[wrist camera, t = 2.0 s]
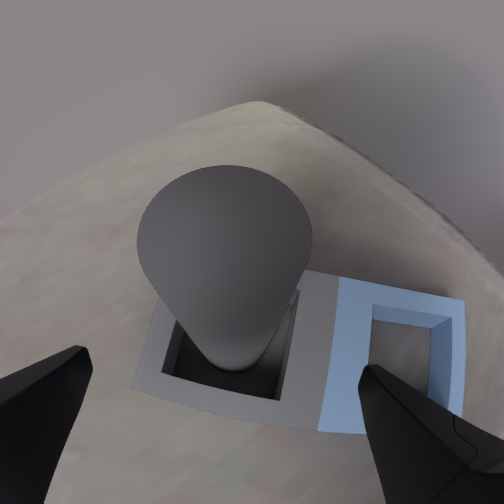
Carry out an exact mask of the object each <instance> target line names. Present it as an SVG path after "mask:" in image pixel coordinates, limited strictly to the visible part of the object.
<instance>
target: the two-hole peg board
mask: <svg viewBox="0 0 504 504" xmlns="http://www.w3.org/2000/svg"><path fill="white" fill-rule="evenodd" d="M289 305H292V310H291V316H290V322H289V327H288V333H287V338H286V344H285V349H284V354H283V359H282V364H281V369H280V374H279V379H278V384H277V389H276V394H275V399H274V400H271V399H265V398H260V397H255V396H250V395H245V394H240V393H236V392H231V391H227V390H223V389H218V388H214V387H210V386H206V385H202V384H199V383H195V382H191V381H188V380H184V379H181V378H177V377H174V376H172V375H173V371H174V368H175V364H176V360H177V357H178V353H179V349H180V346H181V342H182V339H183V335H184V332H185V330H184V329H183V327H182V326H181V325H180V323H179V322H178V321H177V319H176V318H175V317H174V315H173V314H172V313H171V311H170V310H169V308H168V307H167V306H166V304H165V303H164V301H163V300H162V299H161V297H160V296H159V299H158V302H157V305H156V308H155V311H154V314H153V317H152V320H151V323H150V326H149V330H148V333H147V336H146V339H145V343H144V346H143V349H142V353H141V356H140V359H139V363H138V366H137V370H136V374H135V377H134V381H133V384H132V388H134V389H136V390H139V391H142V392H145V393H148V394H150V395H153V396H156V397H159V398H162V399H165V400H169V401H172V402H175V403H178V404H182V405H185V406H189V407H192V408H196V409H200V410H203V411H207V412H211V413H215V414H219V415H224V416H228V417H232V418H237V419H242V420H247V421H252V422H257V423H263V424H269V425H275V426H281V427H288V428H295V429H304V430H312V431H323V432H335V433H352V434H367V433H366V430H365V425H364V420H363V415H362V410H361V404H360V399H359V393H358V383H359V380H360V377H361V374H362V371H363V368H364V367H365V366H366V365H368V357H369V347H370V336H371V323H372V319H373V320H379V321H386V322H392V323H399V324H405V325H412V326H419V327H426V328H431V348H430V368H429V381H428V392H427V397H429V398H430V399H432V400H433V401H435V402H436V403H438V404H440V405H441V406H443V407H444V408H446V409H447V410H449V411H451V412H452V413H453V414H456V415H457V416H459V417H460V418H461V417H462V408H463V398H464V386H465V368H466V324H465V305H464V301H462V300H457V299H452V298H447V297H442V296H436V295H431V294H426V293H421V292H416V291H411V290H406V289H401V288H396V287H391V286H385V285H380V284H375V283H370V282H365V281H360V280H355V279H350V278H345V277H340V276H335V275H330V274H326V273H321V272H316V271H311V270H306V269H305V270H304V272H303V274H302V276H301V278H300V280H299V283H298V285H297V287H296V289H295V291H294V293H293V295H292V297H291V300H290V302H289Z"/></svg>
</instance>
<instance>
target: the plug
mask: <svg viewBox="0 0 504 504" xmlns="http://www.w3.org/2000/svg"><path fill="white" fill-rule="evenodd" d="M311 247H312V230H311V224H310V221H309V217H308V214H307V212H306V210H305V208H304V206H303V205H302V203H301V201H300V200H299V198H298V197H297V196H296V195H295V194H294V193H293V191H291V190H290V189H289V188H288V187H287V186H286V185H285V184H283V183H282V182H280V181H279V180H278V179H276V178H274V177H272V176H270V175H269V174H266V173H264V172H261V171H259V170H255V169H252V168H248V167H242V166H233V165H220V166H211V167H206V168H201V169H198V170H195V171H192V172H189V173H187V174H185V175H182V176H181V177H179V178H177V179H175V180H174V181H172V182H171V183H169V184H168V185H166V186H165V187H164V188H163V189H162V190H161V191H160V192H159V193H158V194H157V195H156V196H155V197H154V198H153V199H152V201H151V202H150V204H149V205H148V206H147V208H146V210H145V212H144V214H143V216H142V219H141V222H140V224H139V229H138V234H137V250H138V256H139V260H140V264H141V266H142V269H143V271H144V273H145V275H146V276H147V278H148V280H149V281H150V283H151V284H152V286H153V287H154V289H155V290H156V291H157V293H158V294H159V296H160V297H161V299H162V300H163V301H164V303H165V304H166V306H167V307H168V308H169V310H170V311H171V313H172V314H173V315H174V317H175V318H176V319H177V321H178V322H179V323H180V325H181V326H182V327H183V329H184V330H185V331H186V333H187V334H188V335H189V337H190V338H191V339H192V340H193V342H194V343H195V344H196V346H197V347H198V348H199V349H200V351H201V352H202V353H203V354H204V356H205V357H206V358H207V359H208V361H209V362H210V363H211V364H212V365H213V366H215V367H216V368H218V369H219V370H222V371H225V372H230V373H239V372H243V371H246V370H249V369H250V368H252V367H253V366H255V365H256V364H257V363H258V362H259V361H260V359H261V358H262V356H263V354H264V352H265V350H266V348H267V346H268V344H269V342H270V340H271V338H272V336H273V334H274V332H275V330H276V328H277V326H278V324H279V322H280V320H281V318H282V316H283V314H284V312H285V310H286V308H287V306H288V304H289V302H290V300H291V297H292V295H293V293H294V291H295V289H296V287H297V285H298V283H299V280H300V278H301V276H302V274H303V272H304V270H305V267H306V265H307V263H308V260H309V257H310V253H311Z"/></svg>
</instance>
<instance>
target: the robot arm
mask: <svg viewBox="0 0 504 504" xmlns="http://www.w3.org/2000/svg"><path fill="white" fill-rule="evenodd" d="M92 372H93V366H92V363H91V359H90V356H89V352H88V349H87V348H86V347H83V346H79V345H75V346H72V347H70V348H68V349H66V350H64V351H61V352H59V353H57V354H55V355H53V356H50V357H48V358H46V359H44V360H41V361H39V362H37V363H35V364H33V365H30V366H28V367H26V368H24V369H21V370H19V371H17V372H15V373H12V374H10V375H8V376H6V377H3V378H1V379H0V504H44V502H43V501H45V498H46V495H47V492H48V489H49V486H50V483H51V480H52V477H53V475H54V472H55V469H56V467H57V464H58V461H59V459H60V456H61V454H62V451H63V448H64V446H65V443H66V441H67V439H68V436H69V434H70V431H71V429H72V427H73V424H74V422H75V420H76V417H77V415H78V413H79V410H80V408H81V405H82V402H83V399H84V396H85V393H86V390H87V387H88V384H89V381H90V378H91V375H92ZM358 393H359V399H360V404H361V409H362V415H363V420H364V425H365V430H366V433H367V437H368V440H369V443H370V447H371V450H372V453H373V457H374V460H375V464H376V467H377V471H378V474H379V478H380V482H381V485H382V489H383V493H384V497H385V500H386V504H504V440H502V439H500V438H498V437H496V436H494V435H492V434H490V433H488V432H486V431H484V430H482V429H480V428H478V427H476V426H474V425H472V424H470V423H469V422H467V421H465V420H464V419H462V418H460V417H459V416H457V415H456V414H453V413H452V412H451V411H449V410H447V409H446V408H444V407H443V406H441V405H440V404H438V403H436V402H435V401H433V400H432V399H430V398H429V397H427V396H425V395H424V394H422V393H421V392H419V391H418V390H416V389H415V388H413V387H411V386H410V385H408V384H407V383H405V382H404V381H402V380H401V379H399V378H398V377H396V376H394V375H393V374H391V373H390V372H388V371H387V370H385V369H384V368H382V367H381V366H379V365H378V364H371V365H366V366H365V367H364V368H363V371H362V374H361V377H360V380H359V383H358Z"/></svg>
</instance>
